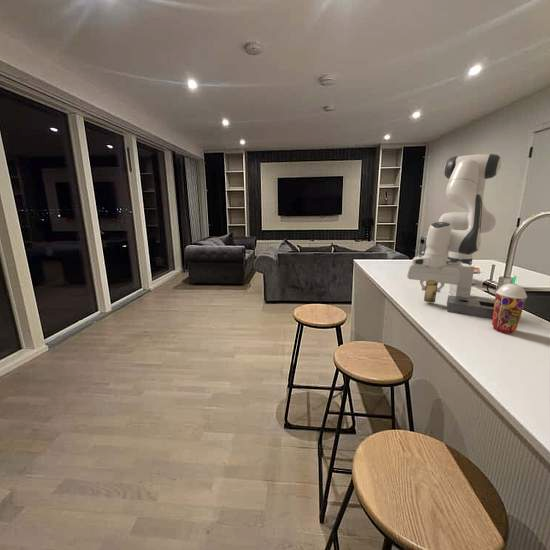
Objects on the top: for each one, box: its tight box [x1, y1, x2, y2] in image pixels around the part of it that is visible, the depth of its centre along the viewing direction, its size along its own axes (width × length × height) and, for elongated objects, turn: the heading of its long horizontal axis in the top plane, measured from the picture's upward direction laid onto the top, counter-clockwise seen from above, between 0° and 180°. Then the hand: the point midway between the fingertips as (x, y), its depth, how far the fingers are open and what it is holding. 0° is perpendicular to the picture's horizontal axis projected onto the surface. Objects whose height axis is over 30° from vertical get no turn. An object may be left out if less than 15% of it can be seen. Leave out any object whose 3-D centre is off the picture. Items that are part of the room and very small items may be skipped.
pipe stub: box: [423, 280, 439, 304], centre depth 125 cm, size 5×5×10 cm
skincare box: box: [448, 264, 475, 298], centre depth 135 cm, size 8×7×16 cm
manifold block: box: [446, 294, 495, 320], centre depth 116 cm, size 11×20×4 cm, turn 60°
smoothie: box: [491, 275, 528, 335], centre depth 98 cm, size 8×8×20 cm
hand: (430, 291), depth 125 cm, fingers closed on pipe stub, 4 cm apart
